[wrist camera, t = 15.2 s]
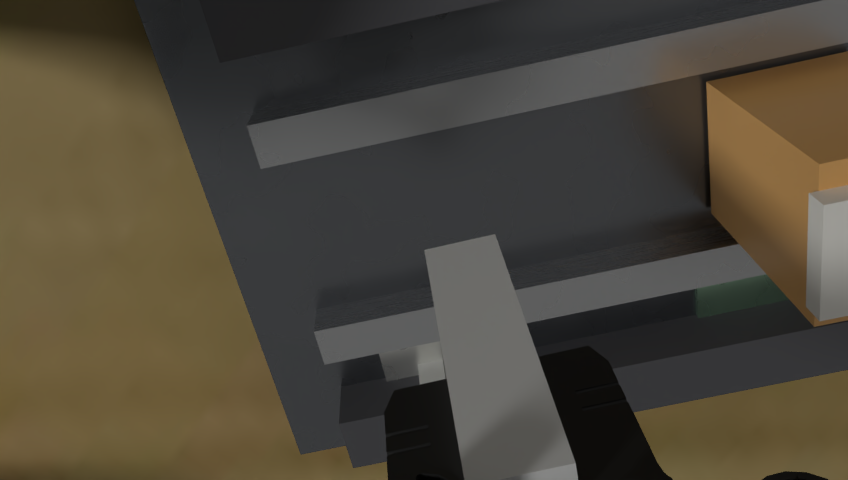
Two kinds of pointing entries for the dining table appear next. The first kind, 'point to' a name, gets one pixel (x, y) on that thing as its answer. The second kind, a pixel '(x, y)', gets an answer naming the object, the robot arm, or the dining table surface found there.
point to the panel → (472, 171)
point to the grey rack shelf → (624, 349)
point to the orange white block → (786, 176)
